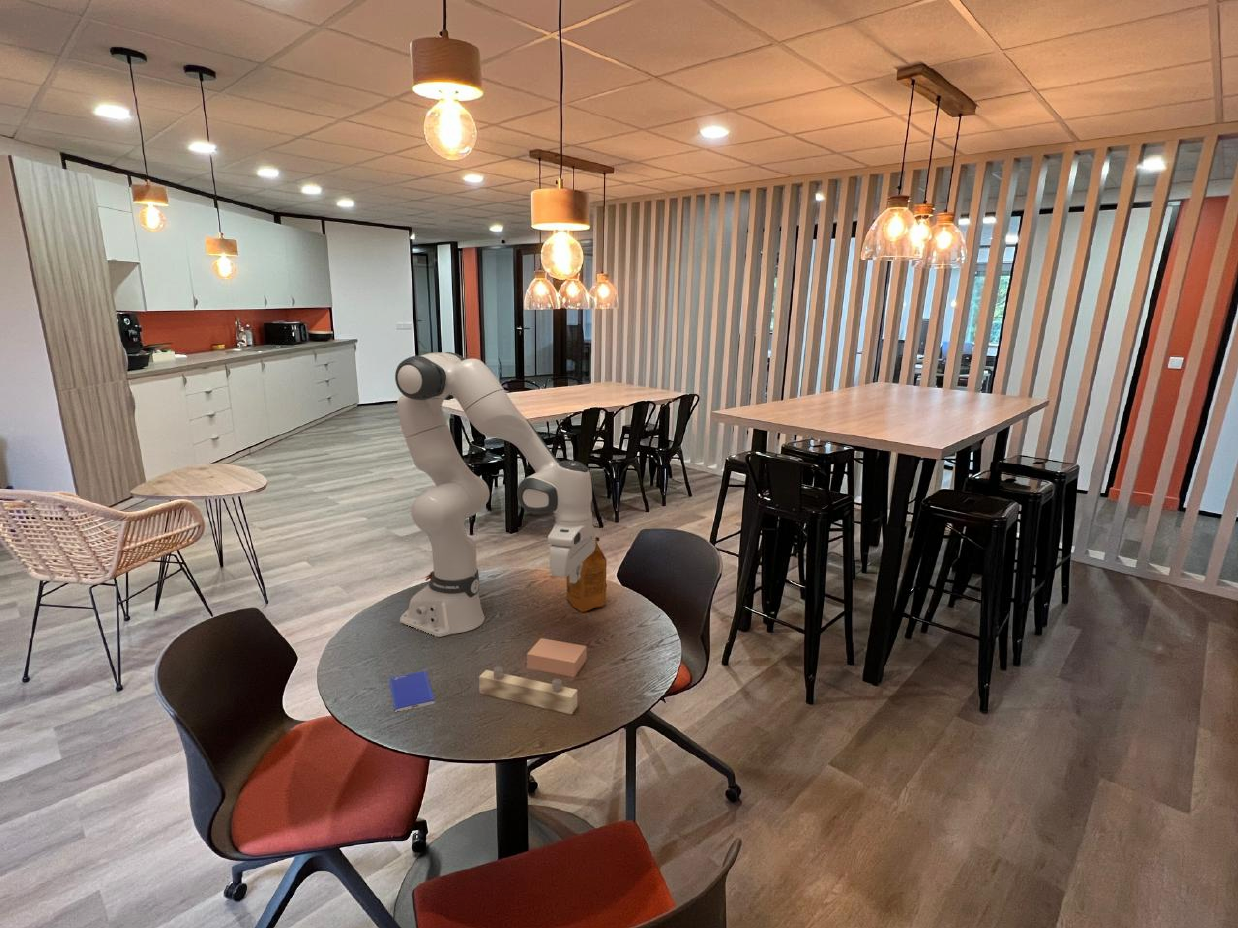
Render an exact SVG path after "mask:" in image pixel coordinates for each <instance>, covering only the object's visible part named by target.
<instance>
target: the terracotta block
mask: <svg viewBox="0 0 1238 928" xmlns="http://www.w3.org/2000/svg"><path fill="white" fill-rule="evenodd" d="M587 649H588V648H587V645H582V644H576V643H572V642H565V641H561V640H560V641H559V640H554V639H548V638H543V637H541V638H540V639H538V641H537V642H536V643H535V644H534V645H533V646H532V647H531V649H530V650H529V651H528V652H527V653H526V668H527V669H531V670H536V671H540V672H546V673H550V674H551V673H552V674H556V675H560V676H561V675H562V676H567V677H571V678H572V677H573V678H575V677H576V676H577V674H578V673H579V671H580V670H581V669H582V667H583V666H584V665H585V663H586V661H588V660H587V657H588V655H587V653H588V652H587Z"/></svg>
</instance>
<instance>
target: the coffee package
mask: <svg viewBox="0 0 1238 928" xmlns="http://www.w3.org/2000/svg"><path fill="white" fill-rule="evenodd" d="M598 542H600V537H598V536H596V535H595V550H594V552H593V553H592V554H591V555H590V556H588V557H587V558H586V559H585V560H584V561H583V562H582V564H583V565H582V569H581V572H580V579H579V580H578V581H577V582H576V583H570V582H569V575H568V576H567V577H566V578H565V580H566V600H568V602H569V603H570V605H571V606H572V608H574V609H576V610H578V611H579V612H582V613H584V612H587V611H589V610H592V609H594V608H601V607H603V606H606V602H607V601H606V600H607V597H606V596H607V586H608V584H607V563H608V562H607V558H606V556H605V553H603V551H602V549H601V548H600V547H599V545H598V544H599V543H598Z"/></svg>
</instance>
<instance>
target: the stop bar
mask: <svg viewBox="0 0 1238 928" xmlns="http://www.w3.org/2000/svg"><path fill="white" fill-rule="evenodd" d="M562 682H563V680H562V679H560V678H553V680H552V682H551V683H547V682H543V681H539V680H535V679H532V678H531V679H530V678H526V677H520V676H516V675H511V674H507V673H504V667H503V666H501V665H497V666H495V667H494V668H493V670H489V669H485V670H484V671H483V672H482V673H481V674H480V675H479V676H478V684H479V685H478V687H479V688H478V689H479V690H478V691H479V694H482V695H486V696H490V697H496V698H500V699H503V700H508V701H512V702H517V703H520V704H525V705H530V706H532V707H533V706H535V707H538V708H542V709H546V710H549V711H550V710H552V711H554V712H559V713H563V714H568V715H573V713H574V712H575V711H576V709H577V708H578V689H575V688H570V687H566V686H563V683H562Z"/></svg>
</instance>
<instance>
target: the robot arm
mask: <svg viewBox="0 0 1238 928" xmlns="http://www.w3.org/2000/svg"><path fill="white" fill-rule="evenodd" d="M394 380H395V384H396V387H397V389H398V391H399V392H400V394H401V395H399V396H400V397H398V400H397V403H396V407H397V414H398V419H399V423H400V426H401V430H402V434H403V437H404V439H405V442H406V444H407V447H408V450H409V452H410V455H411V458H412V461H413V464H414V466H415V467H416V469H418V470H420V471H422V472H424V473H426V474H427V475H428V476H429V477H430V479H431V480H432V482H433V483H434V484H435V486H434V487H431V488H429V489H427V490H425V491H424V492H423V493H422V494H420V495H419V496H418V497H417V498H416V499H414V500H413V503H412V505H411V509H410V510H411V511H410V512H411V518H412V520H413V523H414V524H415V525H416V527H417V528H418V529H420V530H421V531H423V532H425V534H426V536H427V537H428V539H429V542H430V546H431V551H432V563H433V565H432V566H433V571H430V572H429V574H428V575H426V576H425V581H429V582H428V584H427V585H425V586H424V587H423V588H422V589H420V590H419V591H417V592H416V593H415V594H414V595H413V596H412V597H411V599H410V600H409V604H408V609H407V610H405V612H404V613H403V614H402V615H401V616H400V618H399V623H400V622H401V623H404V624H406V625H408V626H407V627H409V626H411V627H414V628H416V629H415V630H417V629H419V630H418V631H420V630H422V631H424V632H423V633H425V632H426V633H425V634H428V633H429V634H428V635H431V634H432V635H431V636H433V635H434V636H433V637H437V638H441V637H444V636H448V635H453V634H459V633H460V634H461V633H465V632H469V631H472V630H474V629H477V628H478V627H480V626H481V625H482V624H483V623H484V622H485V617H486V616H485V615H484V612H483V609H482V605H481V601H480V594H479V591H480V590H479V589H480V577H479V569H478V568H477V567H478V565H477V546H476V542H475V541H474V539H473V538H471V537H469V536H468V534H467V532H466V531H467V530H466V529H465V528H466V527H465V522H466V520H467V519H469V518H471V517H473V516H475V515H476V514H478V513H479V512H480V511H481V510H482V509H483V508H484V507H486V504H487V503H488V502H489V499H490V489H489V486H488V484H487V482H486V481H485V480H484V479H483V478H481V477H480V476H478V475H476V474H475V473H474V472H473V471H472V470H471V469H470V468H469V467H468V465H467V464H466V462H465V461H464V460H463V458H462V456H461V454H460V453H459V451H458V449H457V446H456V444H455V442H454V438H453V435H452V433H451V430H450V428H449V425H448V423H447V419H446V418H445V417H446V416H445V414H444V412H443V403H444V401H445V400H446V401H450V400H452V399H453V398H455V399H456V401H457V402H458V404H459V406H460V408H461V409H462V411H463V412H464V413H465V416H466V417H467V419H468V420H469V422H470V424H471V425H472V426H473V427H474V428H475V429H476V430H477V431H478V432H479V433H480V434H482V435H484V436H485V437H490V438H495V439H501V440H504V441H507V442H509V443H511V444H513V445H514V446H516V447H517V448H518V450H519V452H520V453H522V455H523V456H524V458H525V459H526V460H527V462H528V463H529V465H530V466H531V467H532V469H533V470H534V472H535V473H533V474H531V475H528V476H527V477H525V478H524V479H522V480H521V481H520V483H519V484H518V487H517V490H516V492H517V493H516V495H517V499H518V503H519V504H520V507H522V508H523V509H524V510H525V511H526V512H528V513H530V514H533V515H535V514H536V515H539V514H540V515H542V514H549V513H550V514H551V513H554V514H555V522H554V524H553V528H552V530H551V531H550V532H549V534H548V536H547V543H548V545H550V547H549V568H550V573H551V575H552V576H553V577H554V578H560V579H566V577H567V576H568V575H569V582H570V583H576V582H577V581H578V580H579V579H580V572H581V569H582V565H583V564H582V562H583V561H584V560H585V559H586V558H587V557H588V556H590V555H591V554H592V553H593V552H594V550H595V536H596V532H595V526H594V525H593V512H592V509H591V505H592V500H593V487H592V486H593V484H592V479H591V473H590V470H589V468H588V466H586V464H584V463H581V462H579V461H575V460H562V461H560V460H559V459H558V458H556V456H555V454H553V452H552V451H551V450H550V449H551V448H549V447H548V445H547V444H546V443H545V442H544V439H543V438H542V437H541V436H540V434H539V433H538V432H537V430H536V429H535V428H534V426H533V425H532V424H531V422H530V421H529V420H528V419H527V417H525V416H524V415H523V414H522V413H521V412H520V410H519V409H518V408H517V407H516V405H515V403H513V401H512V400H511V398H510V397H509V395H508V394H507V392H506V390H505V389H504V387H503V386H502V384H501V383H500V381H499V380H498V378H497V377H496V376H495V375H494V373H493V372H492V370H490V368H489V367H488V366H487V365H486V364H485V363H484V362H483V361H482V360H481V359H478V358H465V357H464V356H462V355H460V354H458V353H455V352H449V351H447V352H428V353H426V354H421V355H412V356H409V357H407V358H405V359H404V360H402V361H401V362H400V363H399V364H398V365H397V367H396V369H395V375H394ZM401 623H400V624H401ZM406 625H405V626H406ZM411 627H410V628H411ZM414 628H413V629H414ZM422 631H421V632H422Z"/></svg>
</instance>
